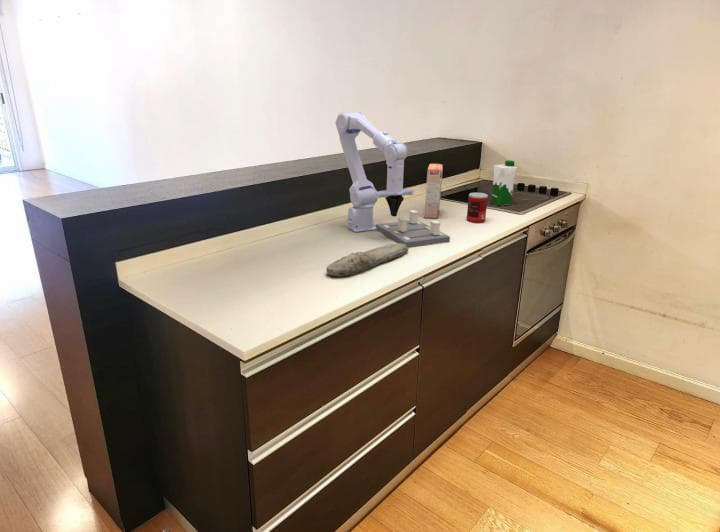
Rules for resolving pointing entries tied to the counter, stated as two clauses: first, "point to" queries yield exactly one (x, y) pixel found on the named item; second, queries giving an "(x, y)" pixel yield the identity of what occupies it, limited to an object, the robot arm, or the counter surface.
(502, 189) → the milk carton
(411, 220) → the block
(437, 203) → the cracker box
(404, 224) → the block
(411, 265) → the counter surface
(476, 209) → the canned food
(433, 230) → the block
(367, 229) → the robot arm
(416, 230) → the breaker panel
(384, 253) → the elongated rock
